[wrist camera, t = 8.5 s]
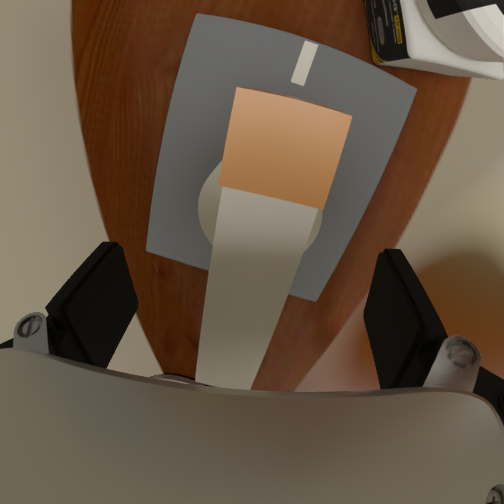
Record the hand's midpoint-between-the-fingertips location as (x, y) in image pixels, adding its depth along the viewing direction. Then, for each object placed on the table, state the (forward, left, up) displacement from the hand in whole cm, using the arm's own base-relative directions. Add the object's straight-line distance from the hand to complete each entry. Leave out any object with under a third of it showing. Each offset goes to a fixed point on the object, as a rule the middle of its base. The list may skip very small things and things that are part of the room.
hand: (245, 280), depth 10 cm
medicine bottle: (+15, -7, -14) cm, 22 cm away
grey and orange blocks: (+1, 0, -7) cm, 8 cm away
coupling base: (0, 0, -14) cm, 14 cm away
